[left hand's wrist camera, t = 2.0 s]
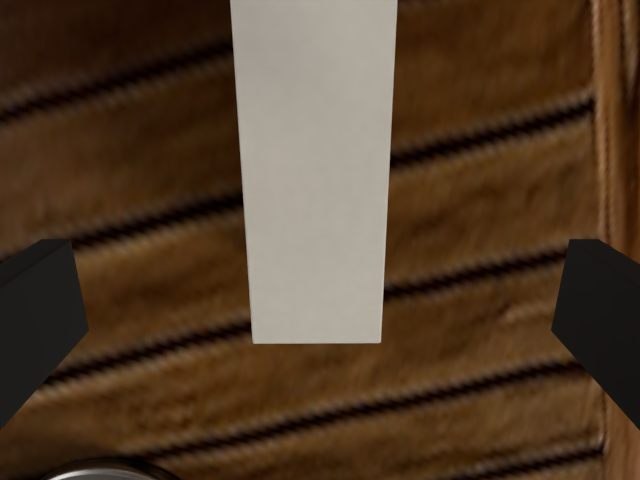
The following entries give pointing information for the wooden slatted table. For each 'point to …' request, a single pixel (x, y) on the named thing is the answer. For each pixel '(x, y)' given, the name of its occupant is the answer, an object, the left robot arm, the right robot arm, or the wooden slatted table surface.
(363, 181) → the post
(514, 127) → the wooden slatted table surface
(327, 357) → the wooden slatted table surface
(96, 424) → the wooden slatted table surface
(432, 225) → the wooden slatted table surface
